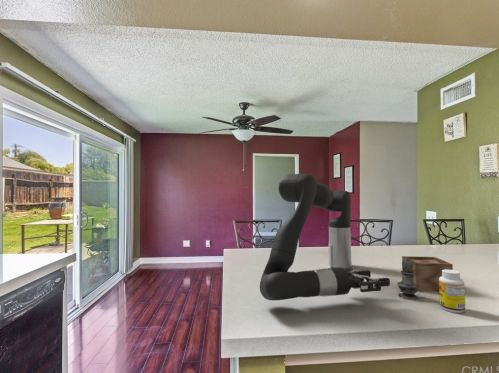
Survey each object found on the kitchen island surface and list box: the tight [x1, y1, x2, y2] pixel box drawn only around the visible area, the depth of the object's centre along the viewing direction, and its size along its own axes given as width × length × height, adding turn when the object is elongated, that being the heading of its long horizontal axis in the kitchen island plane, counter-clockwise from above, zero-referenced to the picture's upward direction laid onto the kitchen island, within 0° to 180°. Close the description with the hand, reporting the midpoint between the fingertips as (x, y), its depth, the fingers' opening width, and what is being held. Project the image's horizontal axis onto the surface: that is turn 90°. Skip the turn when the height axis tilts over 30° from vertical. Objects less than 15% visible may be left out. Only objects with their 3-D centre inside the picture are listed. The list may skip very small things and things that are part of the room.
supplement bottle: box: [438, 269, 466, 314], centre depth 75 cm, size 6×6×10 cm
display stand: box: [401, 255, 454, 293], centre depth 94 cm, size 11×11×9 cm
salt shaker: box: [396, 257, 419, 301], centre depth 85 cm, size 6×6×12 cm
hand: (378, 277), depth 83 cm, fingers open, 8 cm apart
